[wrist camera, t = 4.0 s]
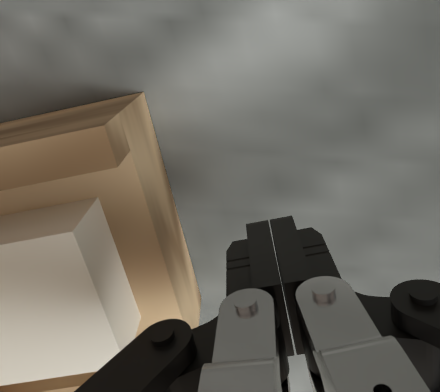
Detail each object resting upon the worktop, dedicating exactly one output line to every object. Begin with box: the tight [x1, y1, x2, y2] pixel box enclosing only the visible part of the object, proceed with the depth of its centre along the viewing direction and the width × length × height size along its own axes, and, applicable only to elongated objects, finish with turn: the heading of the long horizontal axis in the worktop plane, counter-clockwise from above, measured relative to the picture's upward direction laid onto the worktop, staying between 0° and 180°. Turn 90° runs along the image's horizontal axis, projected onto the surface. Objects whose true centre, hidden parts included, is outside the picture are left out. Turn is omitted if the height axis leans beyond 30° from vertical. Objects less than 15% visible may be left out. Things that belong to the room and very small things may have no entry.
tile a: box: [0, 197, 141, 386], centre depth 13 cm, size 5×5×2 cm
